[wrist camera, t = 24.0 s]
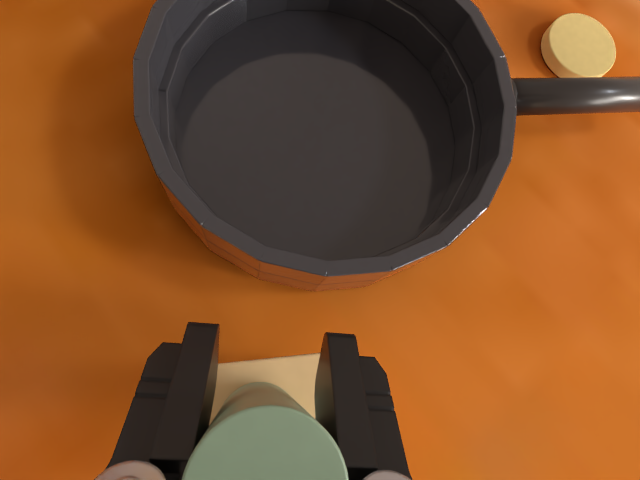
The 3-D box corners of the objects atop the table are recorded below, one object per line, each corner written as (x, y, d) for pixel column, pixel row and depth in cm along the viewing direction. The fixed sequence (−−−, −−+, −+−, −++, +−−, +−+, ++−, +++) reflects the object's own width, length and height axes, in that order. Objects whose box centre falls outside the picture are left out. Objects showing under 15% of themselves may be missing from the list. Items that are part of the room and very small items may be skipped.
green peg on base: (191, 481, 17) (88, 690, 6) (187, 366, 18) (92, 377, 7) (328, 461, 18) (443, 615, 7) (317, 353, 18) (404, 344, 8)
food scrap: (540, 13, 25) (532, 23, 26) (560, 78, 25) (551, 87, 25) (604, 11, 26) (594, 21, 27) (625, 74, 25) (614, 82, 26)
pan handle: (484, 122, 21) (503, 104, 20) (478, 91, 22) (495, 71, 20) (682, 116, 23) (713, 99, 22) (673, 87, 23) (703, 68, 22)
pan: (161, 306, 20) (136, 292, 15) (152, 0, 23) (129, -82, 19) (492, 276, 22) (551, 257, 18) (440, 4, 26) (478, -68, 21)
